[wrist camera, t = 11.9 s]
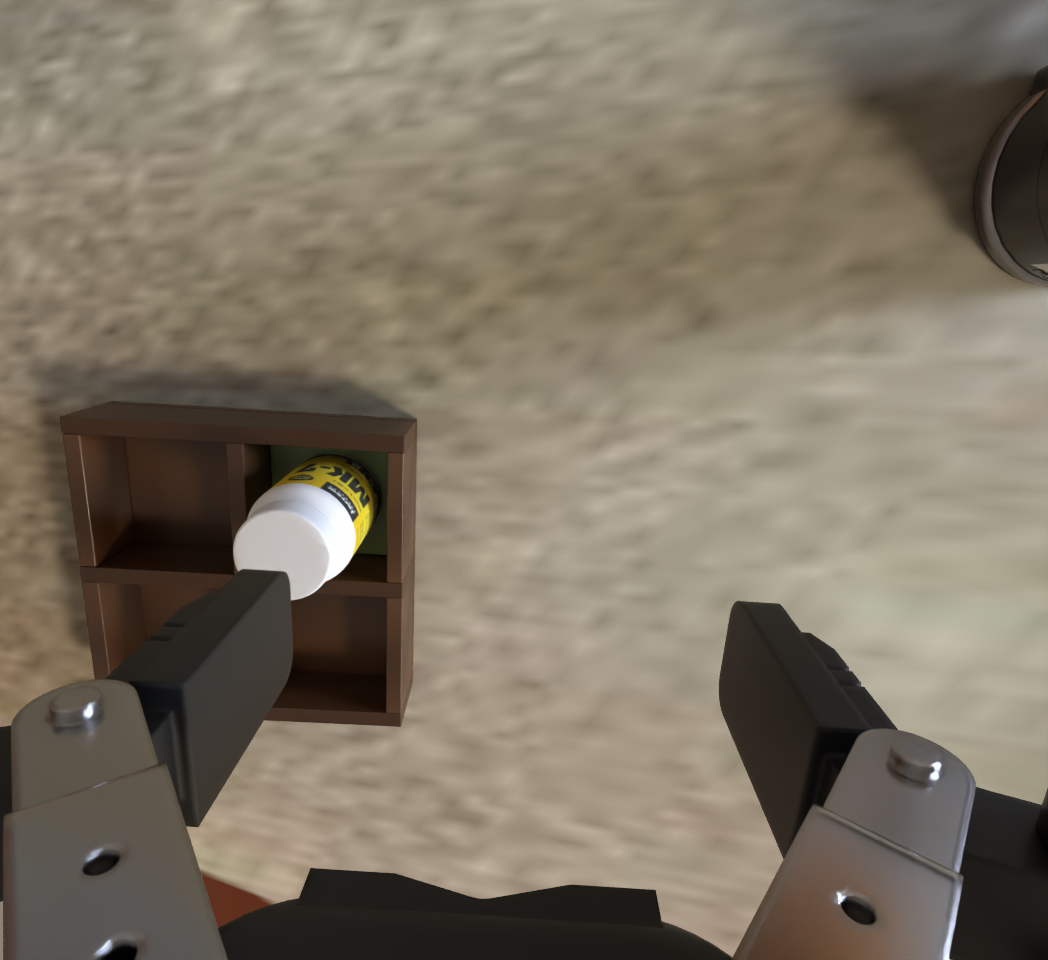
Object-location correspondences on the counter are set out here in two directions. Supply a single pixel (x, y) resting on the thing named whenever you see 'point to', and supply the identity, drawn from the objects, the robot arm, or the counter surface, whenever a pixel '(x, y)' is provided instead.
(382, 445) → the grid
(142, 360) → the counter surface
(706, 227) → the counter surface
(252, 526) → the supplement bottle
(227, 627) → the robot arm
